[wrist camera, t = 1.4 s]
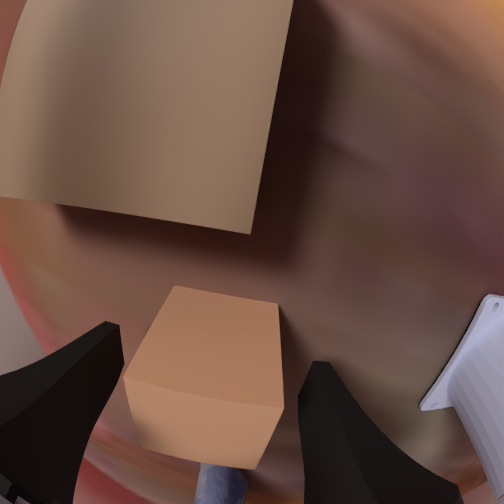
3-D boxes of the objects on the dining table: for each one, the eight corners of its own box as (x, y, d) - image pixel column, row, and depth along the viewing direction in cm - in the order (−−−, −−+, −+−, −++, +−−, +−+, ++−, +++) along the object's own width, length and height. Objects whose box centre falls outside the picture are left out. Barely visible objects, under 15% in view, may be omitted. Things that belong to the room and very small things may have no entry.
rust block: (278, 303, 11) (284, 407, 6) (258, 374, 12) (254, 469, 8) (175, 284, 11) (123, 376, 6) (173, 359, 12) (140, 447, 7)
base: (297, -25, 6) (307, -71, 3) (255, 206, 9) (250, 234, 7) (82, -12, 6) (44, -35, 3) (42, 179, 9) (-8, 194, 6)
